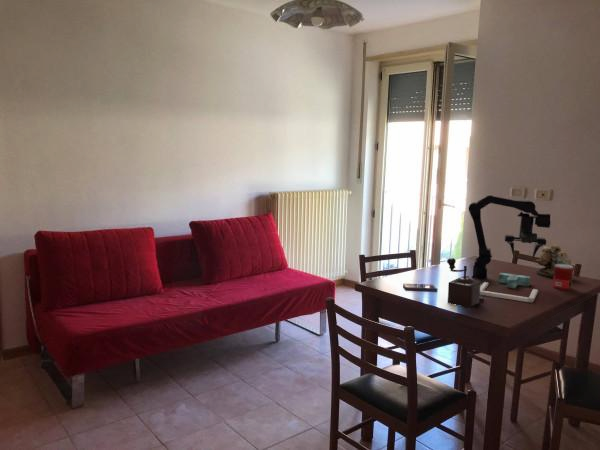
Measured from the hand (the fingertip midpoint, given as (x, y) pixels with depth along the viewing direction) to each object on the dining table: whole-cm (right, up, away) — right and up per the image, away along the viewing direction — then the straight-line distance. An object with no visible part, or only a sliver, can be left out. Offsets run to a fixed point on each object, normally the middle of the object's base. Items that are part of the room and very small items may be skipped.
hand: (523, 256), depth 250 cm
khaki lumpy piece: (+22, -11, +14) cm, 28 cm away
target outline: (-16, -16, -18) cm, 29 cm away
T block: (-7, -14, -5) cm, 16 cm away
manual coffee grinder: (-43, -18, -32) cm, 56 cm away
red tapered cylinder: (+15, -15, -9) cm, 23 cm away
